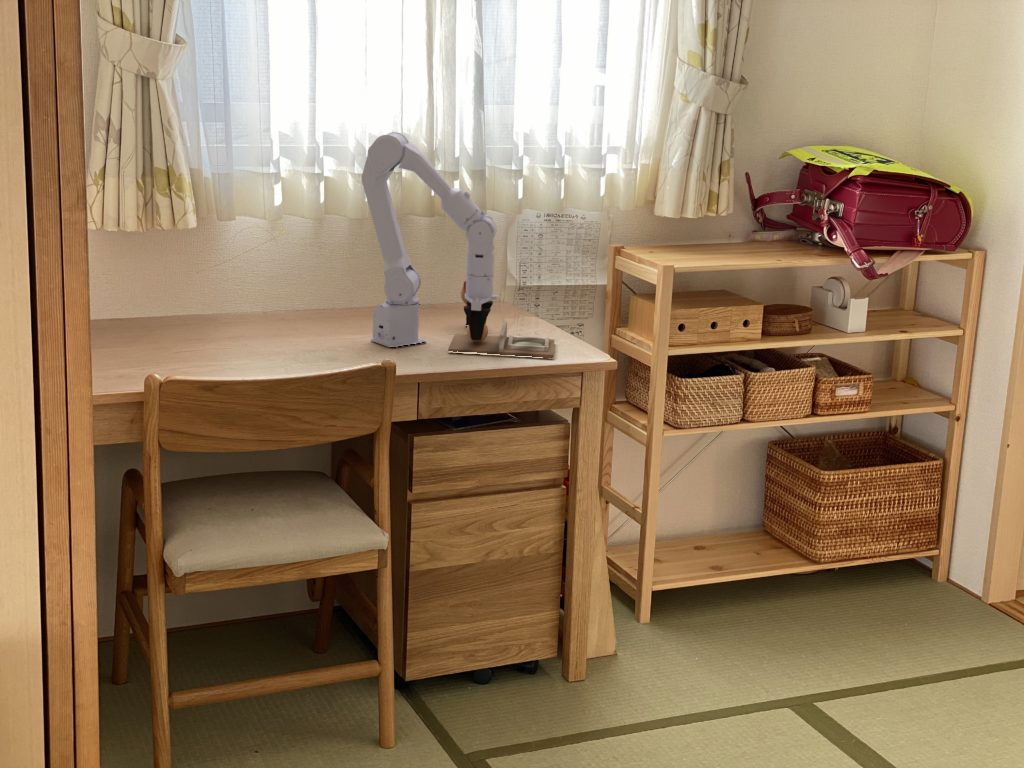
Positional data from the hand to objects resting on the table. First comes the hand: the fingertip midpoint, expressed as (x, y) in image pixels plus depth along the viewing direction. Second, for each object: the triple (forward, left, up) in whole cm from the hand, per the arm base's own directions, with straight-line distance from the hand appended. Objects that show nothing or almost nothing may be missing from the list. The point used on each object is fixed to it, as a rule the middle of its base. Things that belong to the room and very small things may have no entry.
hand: (477, 336), depth 257 cm
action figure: (+11, +14, -2) cm, 18 cm away
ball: (0, 0, +1) cm, 1 cm away
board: (+4, -4, -2) cm, 6 cm away
